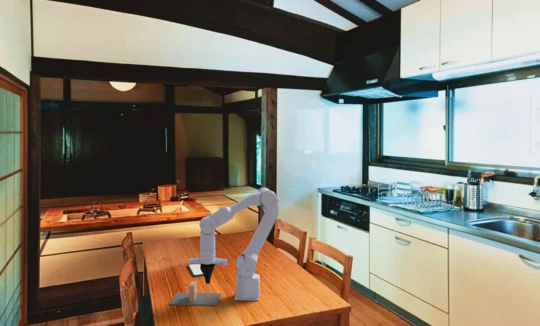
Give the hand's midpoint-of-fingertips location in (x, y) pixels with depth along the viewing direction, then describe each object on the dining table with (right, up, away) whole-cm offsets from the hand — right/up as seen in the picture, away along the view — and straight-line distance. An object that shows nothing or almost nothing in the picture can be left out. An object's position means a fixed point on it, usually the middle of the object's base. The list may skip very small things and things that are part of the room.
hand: (208, 282), depth 140 cm
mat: (-5, -7, +1) cm, 9 cm away
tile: (-6, -7, +1) cm, 9 cm away
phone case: (-10, -5, +32) cm, 34 cm away
